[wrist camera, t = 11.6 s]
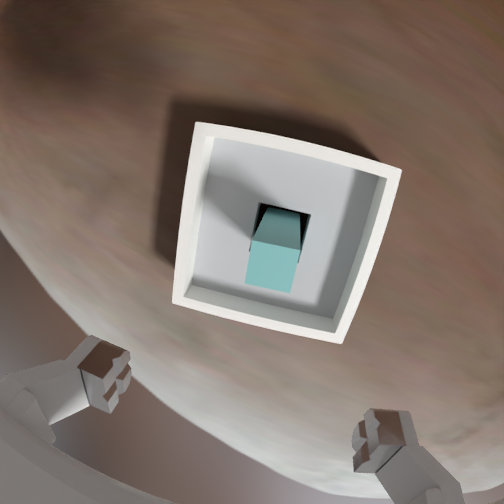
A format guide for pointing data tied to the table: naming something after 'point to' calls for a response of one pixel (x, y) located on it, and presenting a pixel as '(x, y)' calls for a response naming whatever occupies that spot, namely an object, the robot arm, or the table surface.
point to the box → (290, 197)
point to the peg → (275, 251)
